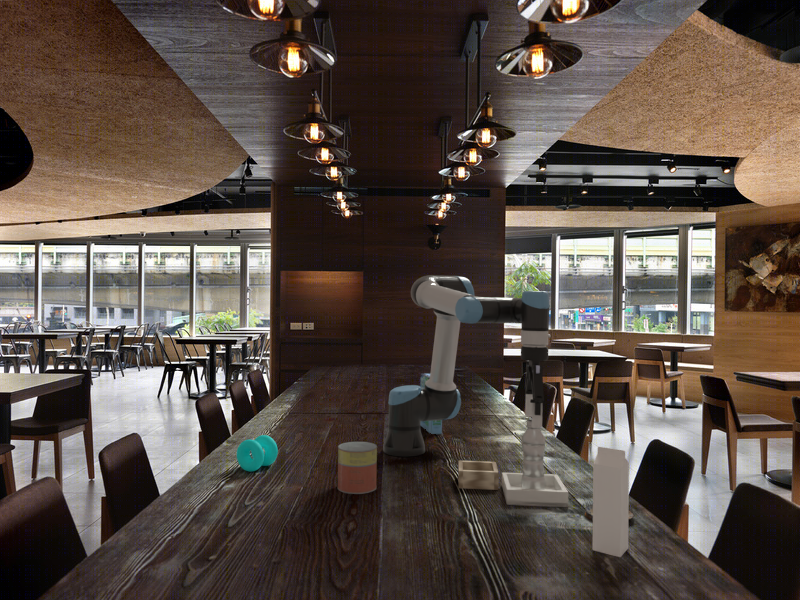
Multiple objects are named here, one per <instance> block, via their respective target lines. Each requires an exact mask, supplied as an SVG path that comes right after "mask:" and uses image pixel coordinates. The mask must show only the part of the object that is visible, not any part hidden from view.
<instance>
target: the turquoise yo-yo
mask: <svg viewBox="0 0 800 600" xmlns="http://www.w3.org/2000/svg"><path fill="white" fill-rule="evenodd" d="M278 452H279V450H278V445H277V442H276V441H275V440H274V438H272V437H271V436H269V435H267V434H262V435H259V436H257V437H256V438H255V439H245V440H243V441H242V442H241V443H240V444H239V445H238V447H237V449H236V460H237V463H238V465H239V467H240V468H241V469H242V470H244V471H246V472H250V473H252V472H255V471H257V470H259V469H260V468H261V467H268V466H271V465H272V464H274V463H275V461H276V460H277V457H278Z"/></svg>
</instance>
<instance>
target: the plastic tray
mask: <svg viewBox="0 0 800 600" xmlns="http://www.w3.org/2000/svg"><path fill="white" fill-rule="evenodd" d="M522 474H523V472H501V488H502V492H503V495H504V499H505V502H506V505H508V506H509V505H510V506H527V507H530V506H533V507H550V508H552V507H553V508H569V491H568V490H567V488H566V486H565V485H564V483H563V481H562V480H561V478H560V477H559V475H558V474H551V473H550V474H549V473H548V474H547V473H544V476H545V482H546V485H545V490H538V489H523V488H522V485H521V479H522Z"/></svg>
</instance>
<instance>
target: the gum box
mask: <svg viewBox="0 0 800 600" xmlns="http://www.w3.org/2000/svg"><path fill="white" fill-rule="evenodd" d="M429 379H430V373H420V383H419V384H420V385H419V386H420V387H421V389H424V388H425V382H426V381H427V380H429ZM420 427H422V428H423V429H424V430H425V429H426V431H427V432H428V433H429V434H430V433H431V434H436V435H443V420H433V421H421V424H420ZM431 434H430V435H431Z"/></svg>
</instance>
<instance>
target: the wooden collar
mask: <svg viewBox="0 0 800 600" xmlns="http://www.w3.org/2000/svg"><path fill="white" fill-rule="evenodd" d="M457 471H458V476H457V477H458V478H457V479H458V481H457V482H458V489H469V490H494V491H498V490H499V470H498V465H497V462H496V461H485V460H484V461H483V460H481V461H479V460H458V470H457Z"/></svg>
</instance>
